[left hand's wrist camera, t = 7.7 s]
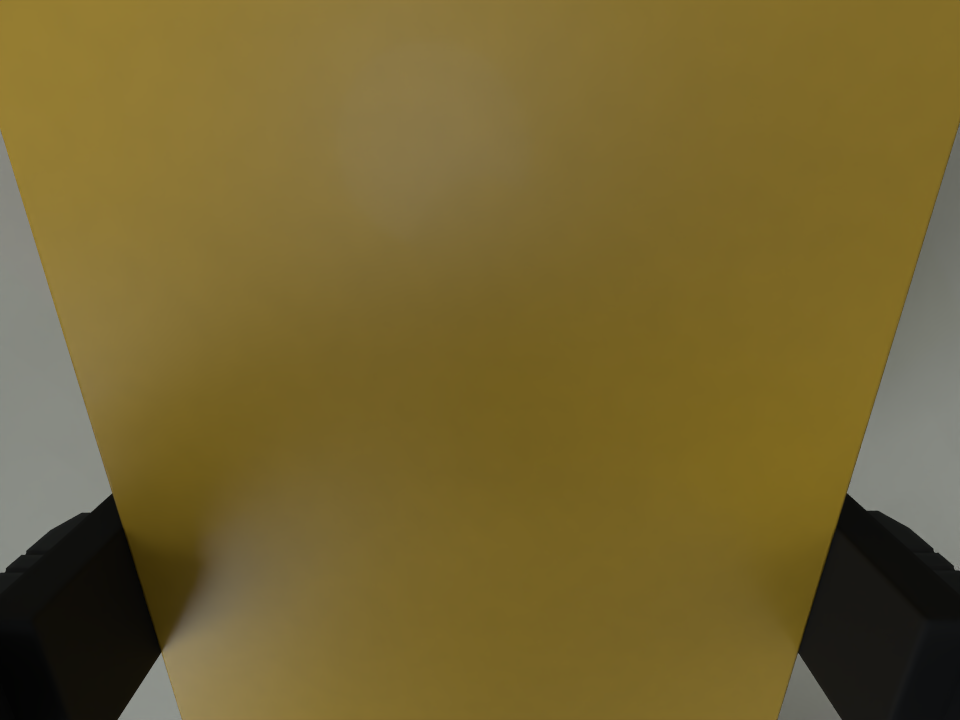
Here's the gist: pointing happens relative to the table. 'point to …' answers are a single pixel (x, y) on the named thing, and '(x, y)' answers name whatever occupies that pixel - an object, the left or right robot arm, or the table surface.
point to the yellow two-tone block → (479, 329)
